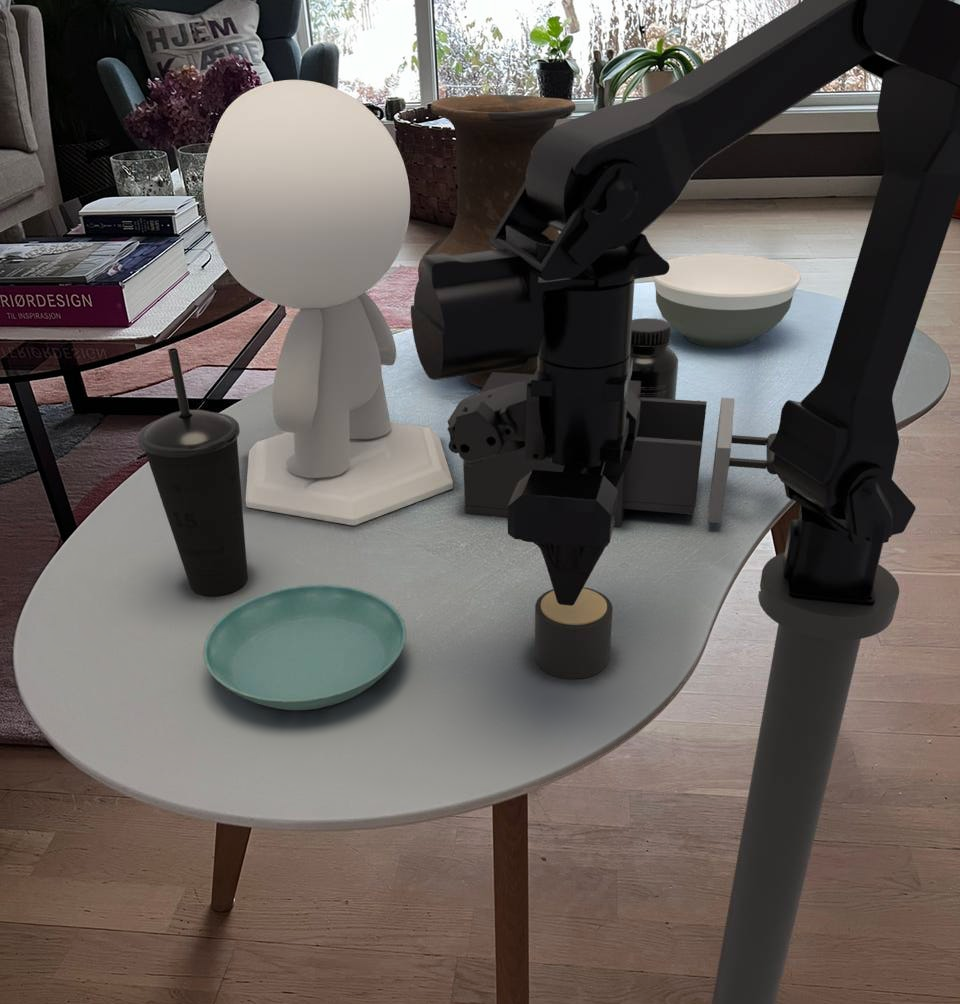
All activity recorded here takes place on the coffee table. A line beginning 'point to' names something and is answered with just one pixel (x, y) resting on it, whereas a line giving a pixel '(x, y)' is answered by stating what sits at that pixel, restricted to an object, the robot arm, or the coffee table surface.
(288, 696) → the saucer
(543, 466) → the drawer cabinet
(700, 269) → the bowl
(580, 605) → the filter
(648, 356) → the supplement bottle
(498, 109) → the vase
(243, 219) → the white cartoon figure
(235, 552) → the drinking cup
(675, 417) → the drawer
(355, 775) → the coffee table surface
